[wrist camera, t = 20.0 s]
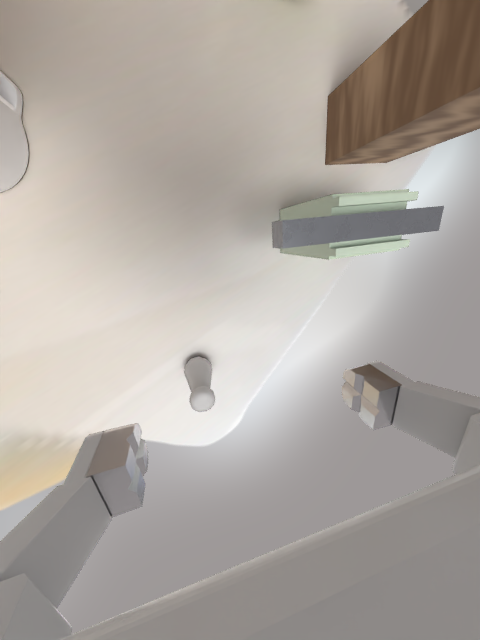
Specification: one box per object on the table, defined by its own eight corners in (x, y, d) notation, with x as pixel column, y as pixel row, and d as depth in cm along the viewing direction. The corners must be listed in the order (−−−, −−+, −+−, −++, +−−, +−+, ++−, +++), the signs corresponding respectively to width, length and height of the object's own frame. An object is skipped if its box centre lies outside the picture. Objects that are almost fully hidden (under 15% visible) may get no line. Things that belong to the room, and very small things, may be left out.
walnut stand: (325, 164, 42) (537, 57, 17) (328, 96, 38) (602, -166, 13) (386, 162, 45) (644, 68, 20) (394, 98, 41) (722, -114, 16)
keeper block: (280, 252, 45) (335, 260, 30) (279, 209, 42) (339, 192, 27) (332, 246, 48) (408, 250, 32) (334, 205, 45) (419, 187, 29)
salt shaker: (210, 351, 49) (220, 387, 37) (211, 373, 51) (220, 414, 39) (182, 354, 47) (184, 392, 36) (184, 377, 49) (186, 420, 38)
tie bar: (272, 247, 28) (282, 248, 26) (271, 222, 27) (282, 220, 24) (417, 231, 33) (438, 230, 30) (421, 208, 32) (443, 206, 29)
